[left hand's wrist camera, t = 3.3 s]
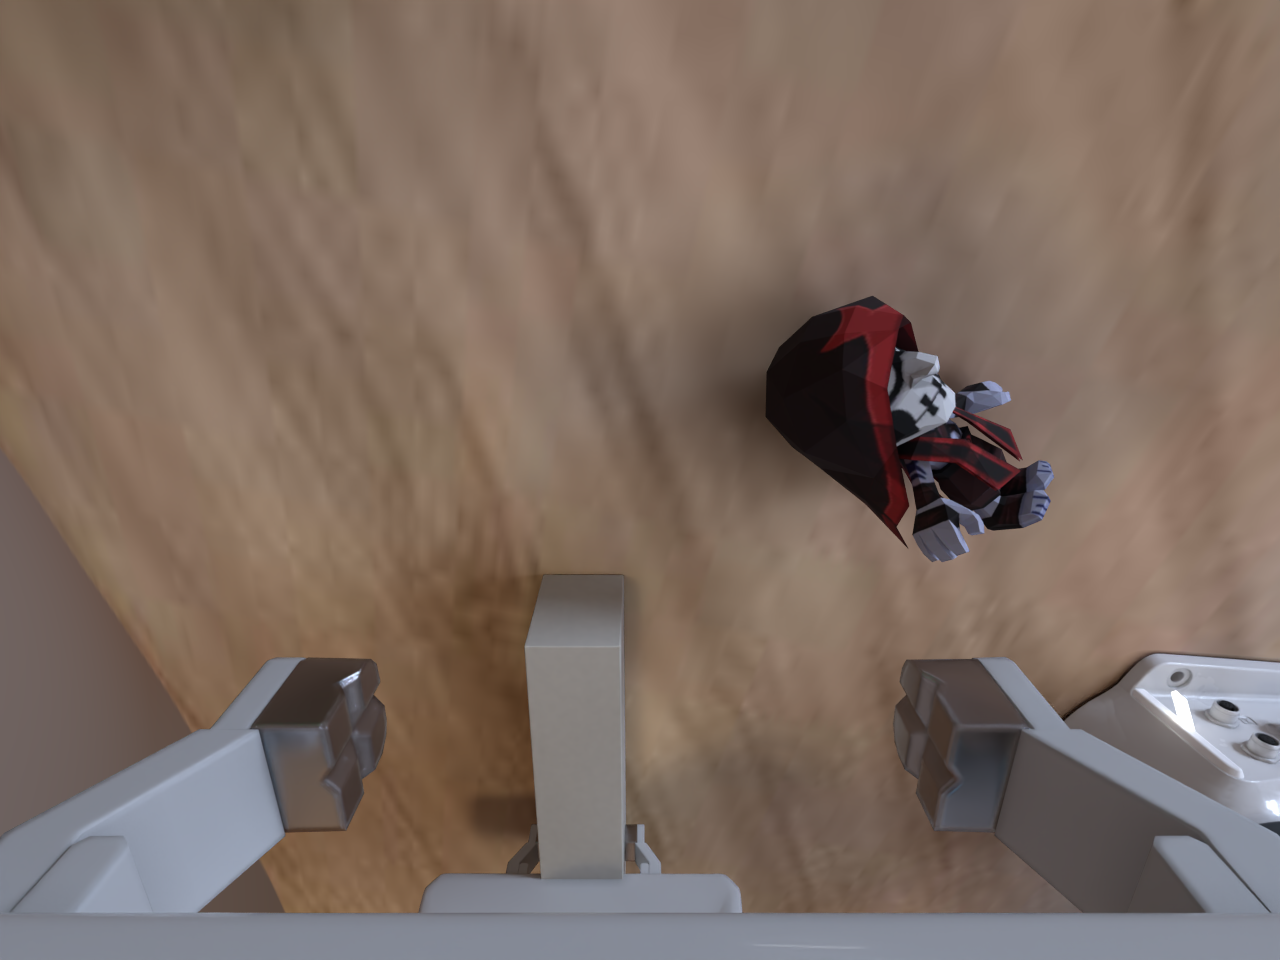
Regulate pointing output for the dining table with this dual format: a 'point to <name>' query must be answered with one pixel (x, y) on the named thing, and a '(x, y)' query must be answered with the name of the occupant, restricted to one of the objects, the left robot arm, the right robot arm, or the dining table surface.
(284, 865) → the dining table surface
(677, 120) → the dining table surface
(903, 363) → the toy
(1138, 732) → the right robot arm
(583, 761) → the bar
